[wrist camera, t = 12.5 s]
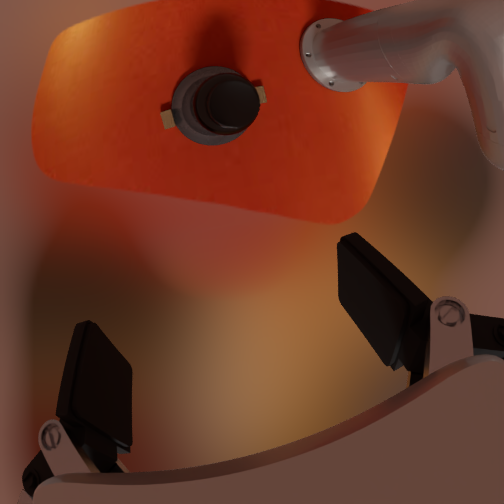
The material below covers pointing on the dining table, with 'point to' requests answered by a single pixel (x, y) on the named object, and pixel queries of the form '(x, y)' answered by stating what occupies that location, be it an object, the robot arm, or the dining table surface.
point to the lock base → (183, 113)
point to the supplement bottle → (225, 104)
